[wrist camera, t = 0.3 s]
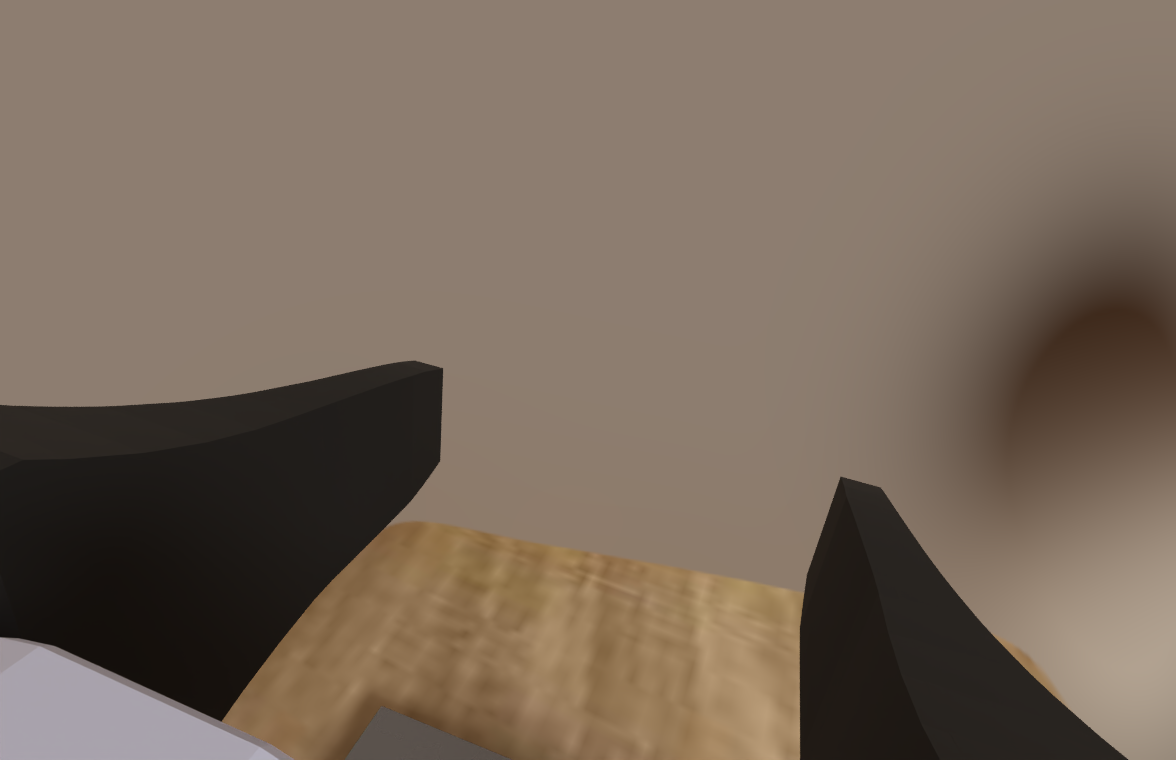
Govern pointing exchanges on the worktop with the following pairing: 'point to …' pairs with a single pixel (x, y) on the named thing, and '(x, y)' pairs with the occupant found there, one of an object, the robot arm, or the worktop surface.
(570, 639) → the worktop surface
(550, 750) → the worktop surface
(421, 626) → the worktop surface
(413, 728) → the hole plate
